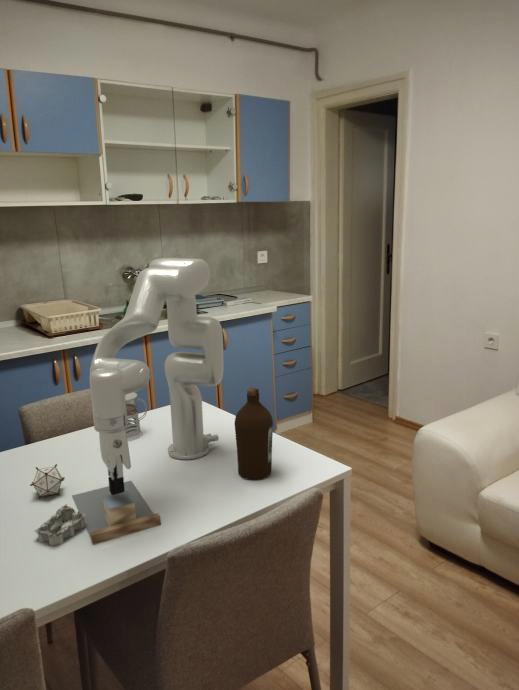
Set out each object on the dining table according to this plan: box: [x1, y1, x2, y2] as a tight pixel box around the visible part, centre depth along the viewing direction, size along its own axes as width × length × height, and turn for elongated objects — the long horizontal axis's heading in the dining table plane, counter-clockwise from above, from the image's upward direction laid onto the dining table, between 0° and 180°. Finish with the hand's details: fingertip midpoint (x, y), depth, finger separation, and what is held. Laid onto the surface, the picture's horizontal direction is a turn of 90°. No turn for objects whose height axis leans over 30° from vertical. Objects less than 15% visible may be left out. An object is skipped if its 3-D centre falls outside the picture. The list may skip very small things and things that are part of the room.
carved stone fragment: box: [34, 503, 87, 546], centre depth 131 cm, size 11×8×4 cm
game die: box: [29, 463, 66, 499], centre depth 148 cm, size 9×8×10 cm
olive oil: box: [234, 386, 274, 481], centre depth 156 cm, size 11×11×25 cm
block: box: [103, 491, 136, 527], centre depth 135 cm, size 6×6×6 cm
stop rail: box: [90, 512, 162, 545], centre depth 131 cm, size 16×2×2 cm, turn 118°
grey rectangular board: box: [71, 480, 155, 540], centre depth 142 cm, size 16×24×1 cm
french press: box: [125, 392, 148, 442], centre depth 184 cm, size 10×12×25 cm
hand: (117, 492), depth 134 cm, fingers closed
